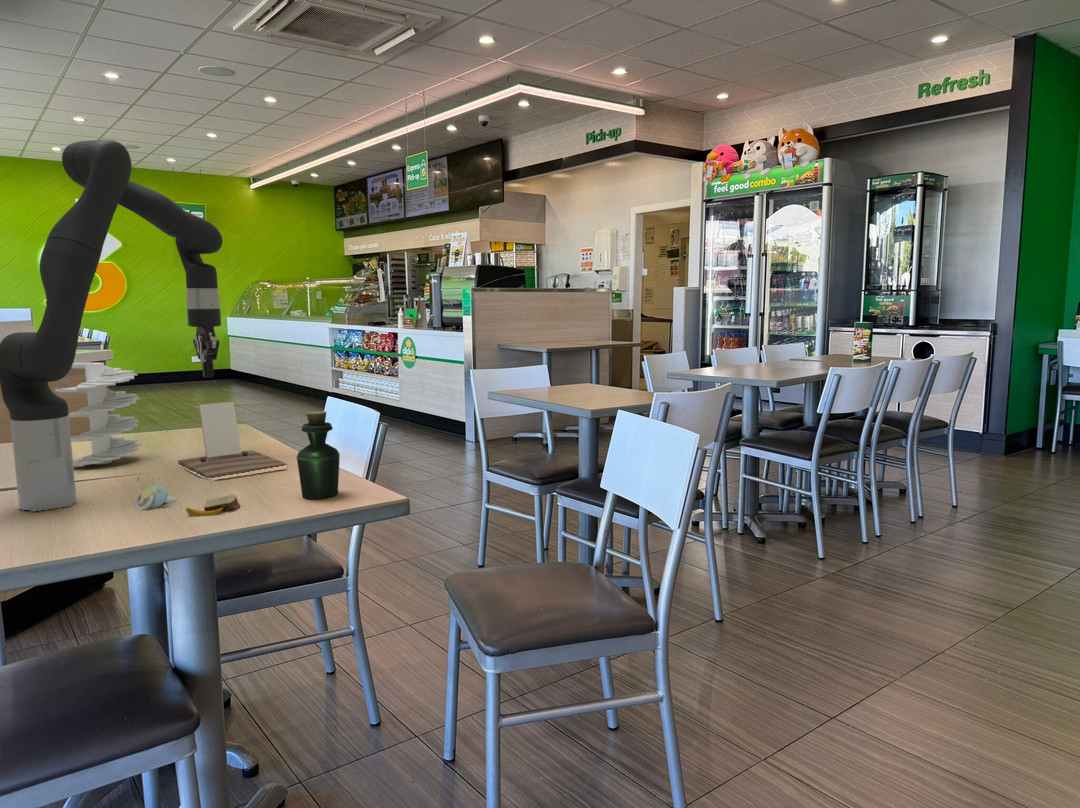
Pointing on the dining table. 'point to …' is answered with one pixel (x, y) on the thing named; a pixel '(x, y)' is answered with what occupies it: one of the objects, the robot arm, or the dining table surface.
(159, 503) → the pacifier
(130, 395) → the spiral staircase
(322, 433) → the potion bottle
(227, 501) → the toy sandwich meal
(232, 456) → the board
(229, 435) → the flip tile
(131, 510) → the dining table surface
